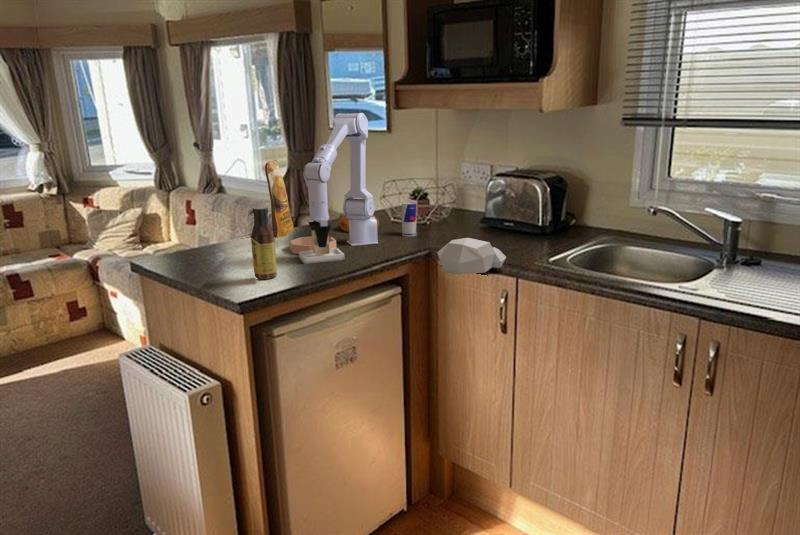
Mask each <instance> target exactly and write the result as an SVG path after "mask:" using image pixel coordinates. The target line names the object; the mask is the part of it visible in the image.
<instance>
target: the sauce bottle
mask: <svg viewBox="0 0 800 535" xmlns="http://www.w3.org/2000/svg"><path fill="white" fill-rule="evenodd" d="M268 208H269V207H267V206H263V205H262V206H253V207H252V213H253V227H252V231H251V233H250V242H251V254H252V263H253V264H252V266H253V273H254V277H255V279H258V280H272V279H274V278H276V277H277V275H278V273H277V272H278V271H277V270H278V269H277V256H276V244H275V239H274V238H275V237H274V233H273V228H272V226H271V225H270V224H269V216H268V214H269V209H268Z"/></svg>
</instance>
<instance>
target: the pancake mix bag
mask: <svg viewBox="0 0 800 535" xmlns="http://www.w3.org/2000/svg"><path fill="white" fill-rule="evenodd" d="M278 162H279V161H278V159H273V160H269V161H267V162H266V163H265V165H264V172H265V174H264V175H265V178H266V182H267V187H268V194H269V199H270V210H271V211H270V212H271V228H272V230H273V233H274V238H276V237H277V239H279V238H282V237H283V238H284V237H286V236H288V235H289V234H291V233H292V232H294V224H293V222H294V221H293V219H292V215H291V211H290V204H289V199H288V194H287V191H286V185H285V181H284V178H283V175H282V172H281V169H280V166H279V163H278ZM278 237H279V238H278Z"/></svg>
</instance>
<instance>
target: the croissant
mask: <svg viewBox="0 0 800 535" xmlns="http://www.w3.org/2000/svg"><path fill="white" fill-rule="evenodd" d="M371 217H375V219H376V222H377V230H378V229H379V226H380V221H379V219H378V218H377V216H376V215H374V214H373V215H372V216H371ZM337 224H339V228H340V229H341V230H342V231H344V232H346V233H349V218H347V216H346V215H345V214H344V215H343V216H342V217H341V218H340V220H339V221H338V223H337Z"/></svg>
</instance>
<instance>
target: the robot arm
mask: <svg viewBox="0 0 800 535" xmlns="http://www.w3.org/2000/svg"><path fill="white" fill-rule="evenodd" d="M332 128H333V129H332V130H331V133H330V135H329V137H328V139H327V141H326V143H325V144H321V145H320V146H319V148H318V150H317V152H316V153H315V155H314V156H313V159H312V160H311V162H308V163H307V164H306V165H304V167H303V172H302V177H303V179H304V180H305V185H306V187H307V195H308V206H309V207H308V208H309V216H306V217H305V219H306V220H308V221H309V222H308V225H309V227H310V228H311V231H312V230H314V231H315V233H316V237H317V242H318V245H319V247H326V244H327V238H328V234H329V233H330V230H331V228H332V225H331V224H329V223H328V221H329V219H330V215H329V201H328V184H327V182H328V181H329V180H330V177H331V170H332V165H333V163H334V161H335V160H336V158H337V157H338V151H337V149H338V148H339V146H340V145H341V143H342V142H343V141H344V139H346V140H347V141H348V142H349V146H350V148H349V149H350V151H349V152H350V154H349V155H350V156H349V158H350V159H349V160H350V161H349V162H350V170H349V172H350V174H349V175H350V178H349V179H350V180H349V182H350V184H349V185H350V190H348V192H346V193H345V194H344V197H343V203H342V212H343V214H344V215H346V216H347V218H349V232H348V234H349V239H348V240H346V243H347V244H349V245H350V246H352V247H355V246H356V247H357V246H367V245H376V244H379V241H378V229H377V222H376V219H375V217H376V216H375V217H371V216H372V215H374V213H375V209H376V206H375V202H374V196H373V194H372V193H371V192H369V191H368V190H367V189H366V185H367V184H366V183H367V182H366V181H367V180H366V179H367V178H366V176H367V175H366V171H367V170H366V169H367V168H366V167H367V166H366V165H367V164H366V163H367V162H366V155H367V154H366V153H367V152H366V150H367V148H366V141H367V139H368V138H369V120H368V118H367V116H366V115H365V114H364V113H363V112H359V113H357V112H354V113H337V114H335V116H334V118H333V120H332Z"/></svg>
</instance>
